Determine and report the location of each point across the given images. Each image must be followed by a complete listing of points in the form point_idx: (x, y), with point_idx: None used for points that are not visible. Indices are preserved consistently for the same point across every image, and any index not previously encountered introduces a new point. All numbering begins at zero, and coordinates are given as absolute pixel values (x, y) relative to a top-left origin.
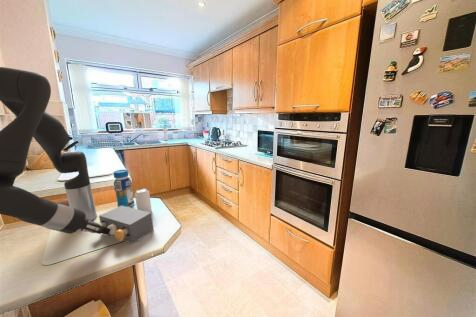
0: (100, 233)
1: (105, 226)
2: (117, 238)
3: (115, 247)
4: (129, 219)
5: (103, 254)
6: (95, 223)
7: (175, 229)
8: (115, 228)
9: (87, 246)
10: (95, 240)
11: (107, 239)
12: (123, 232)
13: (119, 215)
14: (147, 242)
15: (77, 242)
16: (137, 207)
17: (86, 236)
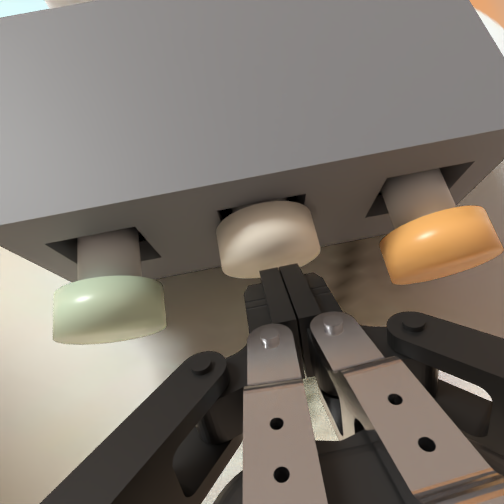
0: (437, 389)
1: (140, 261)
2: (426, 276)
3: (386, 315)
4: (404, 82)
5: None
6: (440, 417)
7: (488, 22)
8: (313, 226)
9: None
10: (152, 368)
11: (223, 307)
12: (487, 215)
13: (206, 104)
14: (501, 168)
15: (39, 473)
16: (73, 2)
17: (20, 389)
